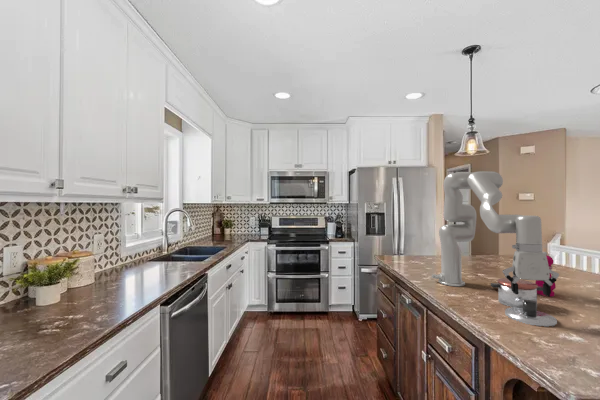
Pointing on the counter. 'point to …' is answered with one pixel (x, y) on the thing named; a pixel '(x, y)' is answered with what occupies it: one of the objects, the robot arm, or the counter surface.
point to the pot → (516, 300)
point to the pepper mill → (540, 283)
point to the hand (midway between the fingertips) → (530, 294)
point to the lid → (530, 315)
